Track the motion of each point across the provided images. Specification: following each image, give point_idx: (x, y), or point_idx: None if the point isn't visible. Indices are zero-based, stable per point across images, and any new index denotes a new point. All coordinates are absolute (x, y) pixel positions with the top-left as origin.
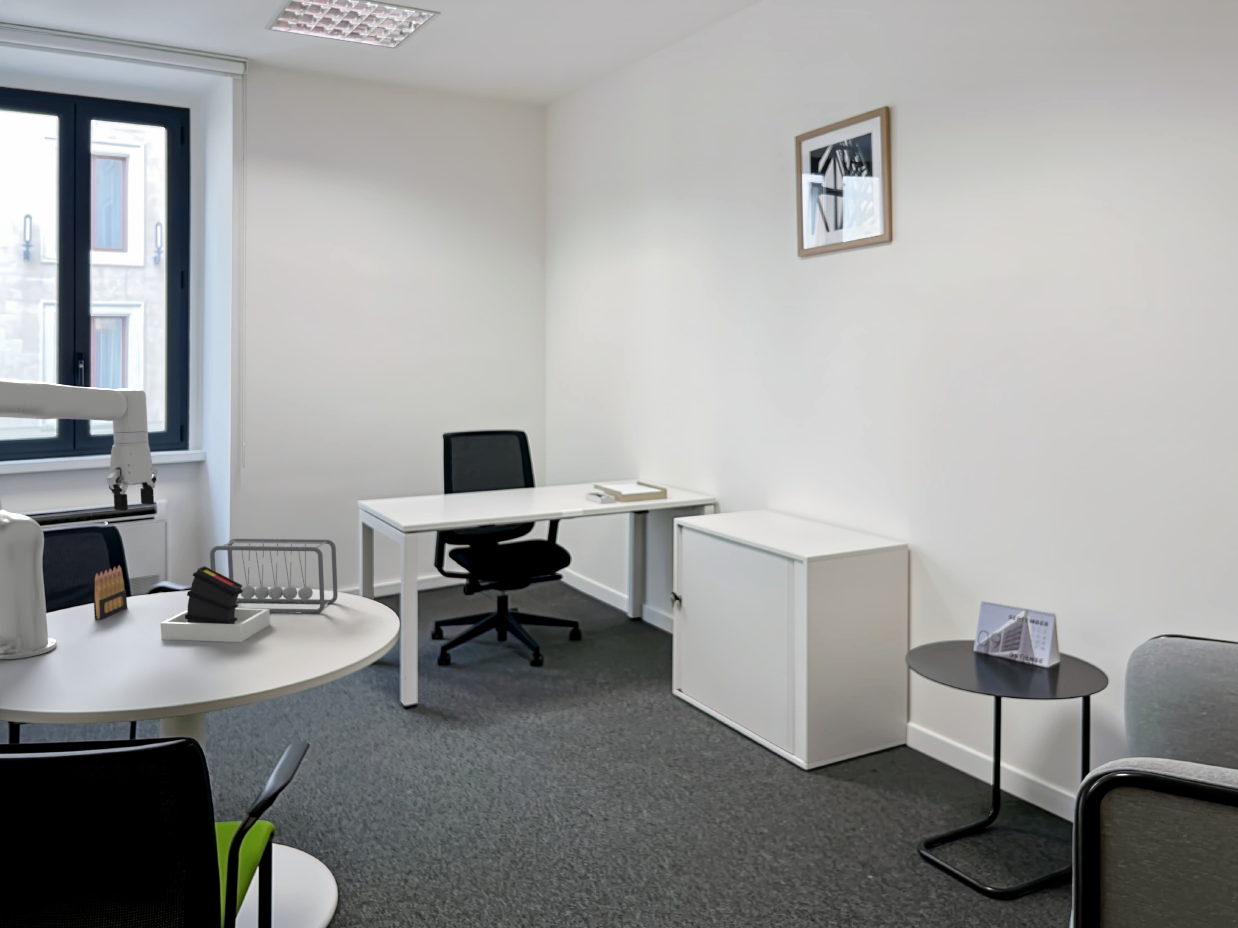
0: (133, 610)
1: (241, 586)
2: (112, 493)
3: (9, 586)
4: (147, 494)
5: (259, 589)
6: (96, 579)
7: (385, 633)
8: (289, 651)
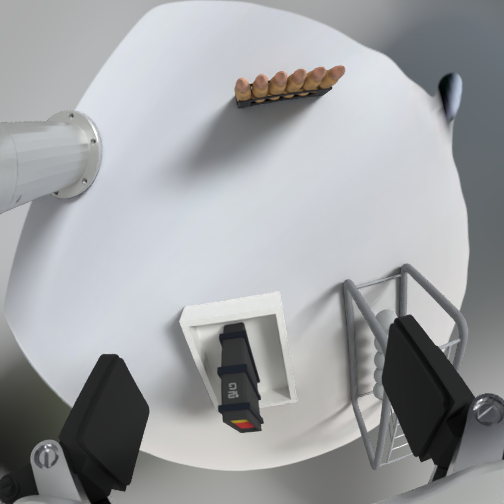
0: (313, 119)
1: (257, 430)
2: (42, 445)
3: None
4: (409, 410)
5: (379, 349)
6: (236, 86)
7: (291, 462)
8: (213, 437)
